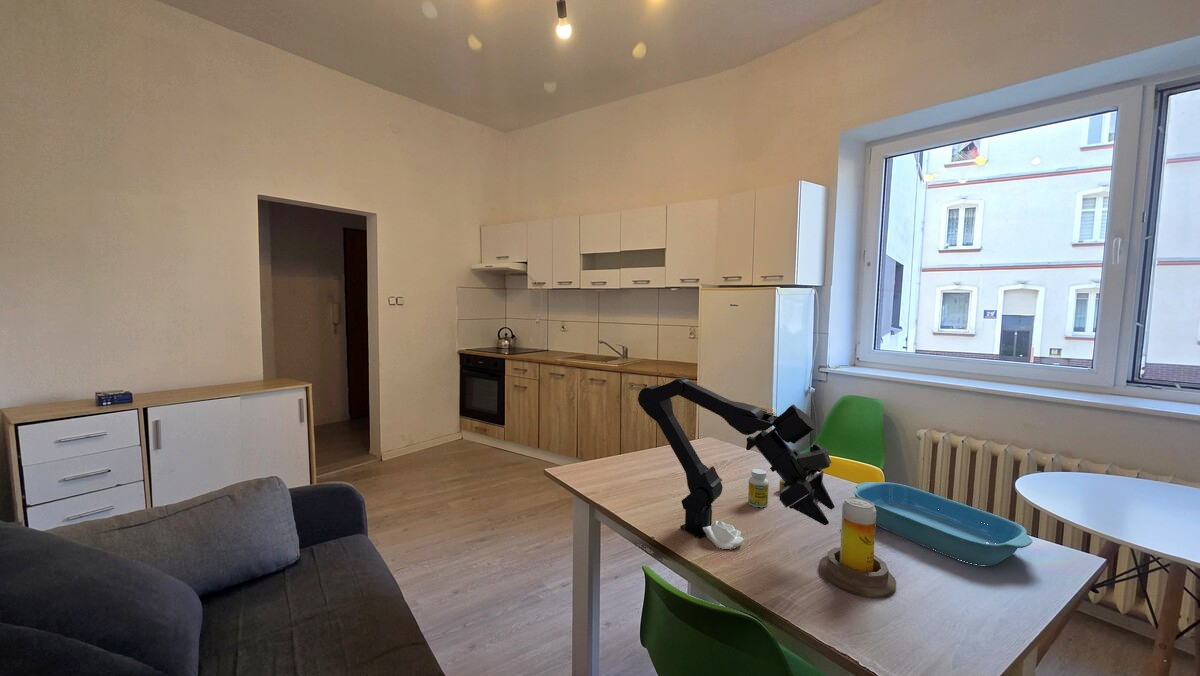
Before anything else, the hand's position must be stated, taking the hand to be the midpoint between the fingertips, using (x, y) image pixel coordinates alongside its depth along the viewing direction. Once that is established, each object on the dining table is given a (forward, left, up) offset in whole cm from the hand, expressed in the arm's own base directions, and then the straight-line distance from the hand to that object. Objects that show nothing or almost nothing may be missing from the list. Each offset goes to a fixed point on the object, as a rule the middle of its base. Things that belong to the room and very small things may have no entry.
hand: (830, 516), depth 98 cm
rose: (-8, +21, -12) cm, 26 cm away
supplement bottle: (+17, +28, -12) cm, 35 cm away
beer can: (+2, -5, -11) cm, 12 cm away
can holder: (+2, -5, -12) cm, 13 cm away
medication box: (+33, +24, -12) cm, 42 cm away
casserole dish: (+37, -8, -12) cm, 40 cm away
